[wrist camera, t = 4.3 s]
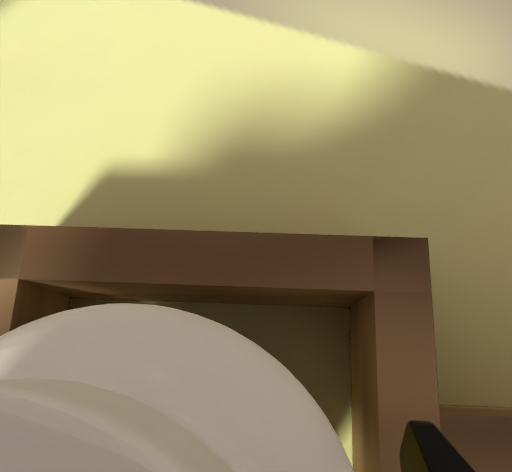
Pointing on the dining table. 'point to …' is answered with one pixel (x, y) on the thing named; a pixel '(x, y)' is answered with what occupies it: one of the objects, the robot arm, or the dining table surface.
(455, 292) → the dining table surface
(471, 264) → the dining table surface
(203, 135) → the dining table surface
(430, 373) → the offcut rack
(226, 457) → the supplement bottle
